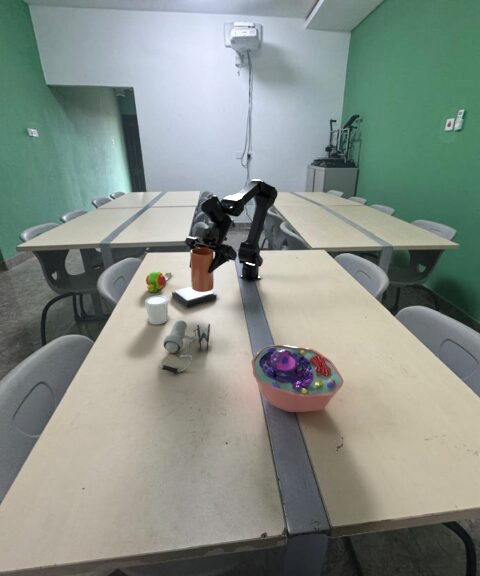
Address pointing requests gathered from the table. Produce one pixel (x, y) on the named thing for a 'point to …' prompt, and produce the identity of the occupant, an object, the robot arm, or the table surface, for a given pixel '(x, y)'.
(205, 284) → the cup
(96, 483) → the table surface
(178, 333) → the clip-on lamp
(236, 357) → the table surface
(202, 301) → the scale
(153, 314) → the white cylinder
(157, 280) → the toy measuring tape
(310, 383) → the cell model
